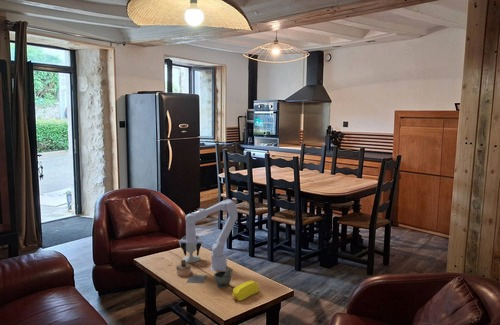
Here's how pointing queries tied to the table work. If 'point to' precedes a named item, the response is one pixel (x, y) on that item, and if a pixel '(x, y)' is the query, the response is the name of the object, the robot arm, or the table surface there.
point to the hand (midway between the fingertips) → (191, 255)
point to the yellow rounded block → (245, 290)
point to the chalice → (191, 251)
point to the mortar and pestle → (223, 278)
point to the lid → (183, 265)
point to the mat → (196, 279)
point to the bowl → (183, 272)
